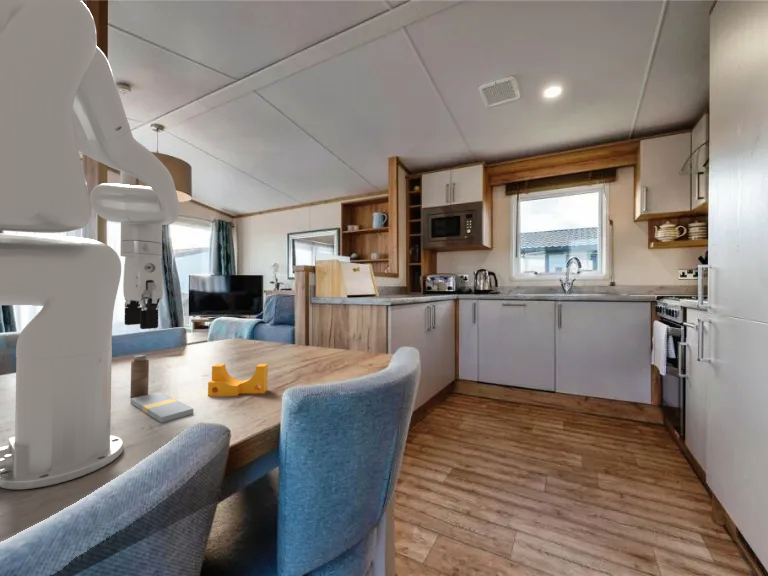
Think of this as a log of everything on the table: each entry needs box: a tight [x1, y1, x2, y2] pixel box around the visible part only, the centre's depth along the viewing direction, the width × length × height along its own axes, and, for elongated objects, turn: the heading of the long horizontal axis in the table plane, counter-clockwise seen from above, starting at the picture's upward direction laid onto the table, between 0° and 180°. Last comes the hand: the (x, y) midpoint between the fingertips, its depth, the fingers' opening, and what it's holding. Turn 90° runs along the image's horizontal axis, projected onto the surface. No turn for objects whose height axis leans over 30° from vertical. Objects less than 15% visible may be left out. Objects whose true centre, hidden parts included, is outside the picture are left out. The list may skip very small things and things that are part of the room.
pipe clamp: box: [207, 363, 269, 397], centre depth 77 cm, size 12×4×6 cm, turn 93°
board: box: [130, 391, 194, 424], centre depth 66 cm, size 6×16×1 cm, turn 54°
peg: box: [129, 354, 150, 399], centre depth 73 cm, size 3×3×9 cm
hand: (140, 326), depth 74 cm, fingers open, 9 cm apart
